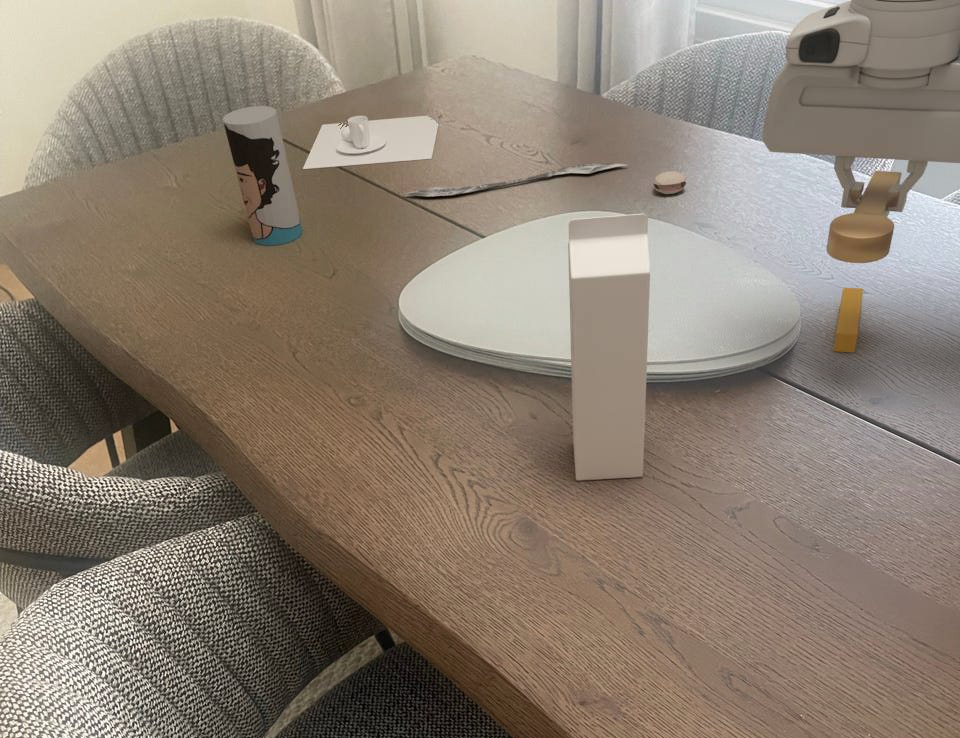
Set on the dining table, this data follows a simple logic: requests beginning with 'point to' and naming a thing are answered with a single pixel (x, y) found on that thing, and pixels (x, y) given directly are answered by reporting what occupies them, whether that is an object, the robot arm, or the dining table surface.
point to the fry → (848, 320)
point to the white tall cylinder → (263, 174)
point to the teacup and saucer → (373, 142)
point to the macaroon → (669, 182)
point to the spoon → (865, 224)
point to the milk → (609, 343)
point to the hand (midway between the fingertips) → (872, 207)
